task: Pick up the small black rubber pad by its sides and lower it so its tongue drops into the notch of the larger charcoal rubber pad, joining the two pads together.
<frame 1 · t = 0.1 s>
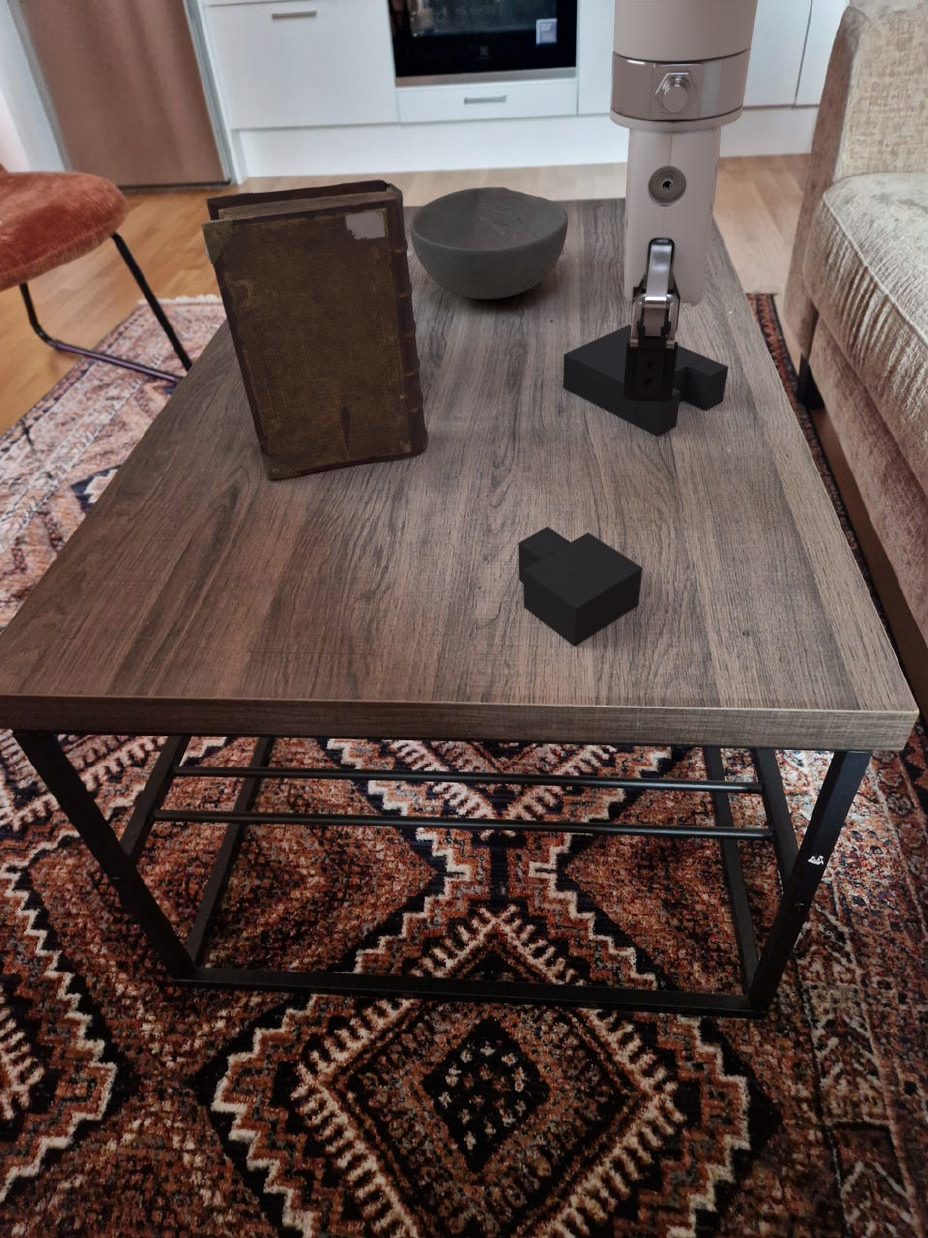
hand: (651, 364, 60), 18 cm above the table, tool pointing down, fingers open, 9 cm apart
book: (349, 457, 87), on the table
notch pad: (641, 394, 92), on the table
bowl: (491, 292, 114), on the table
flower pot: (324, 385, 98), on the table
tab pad: (580, 606, 68), on the table
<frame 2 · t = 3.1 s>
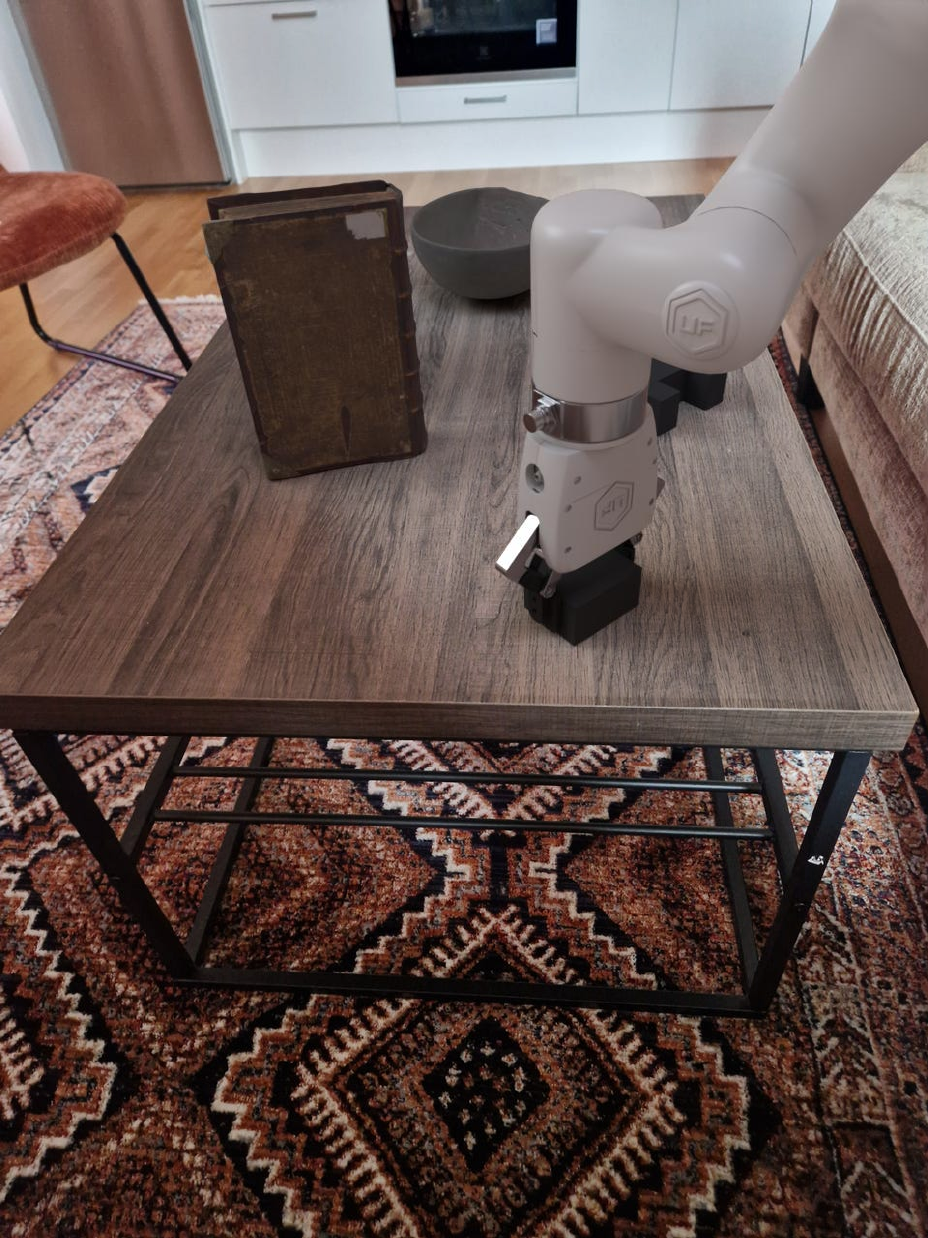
hand: (580, 598, 68), 1 cm above the table, tool pointing down, fingers closed on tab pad, 7 cm apart
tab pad: (580, 606, 68), on the table, touching gripper
everything else where it was.
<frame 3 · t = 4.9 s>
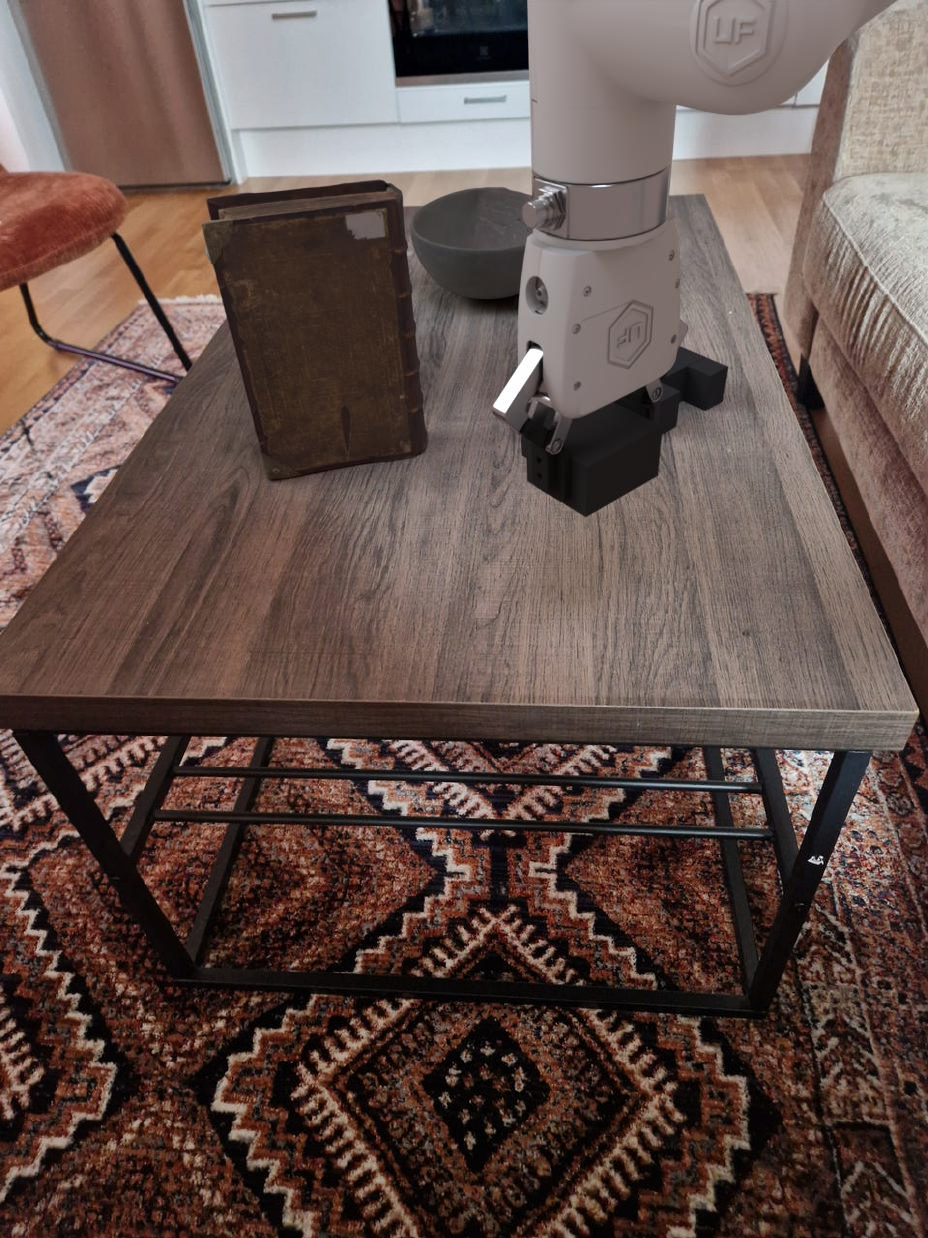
hand: (592, 468, 59), 13 cm above the table, tool pointing down, fingers closed on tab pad, 7 cm apart
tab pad: (592, 478, 60), point 12 cm above the table, touching gripper
everything else where it was.
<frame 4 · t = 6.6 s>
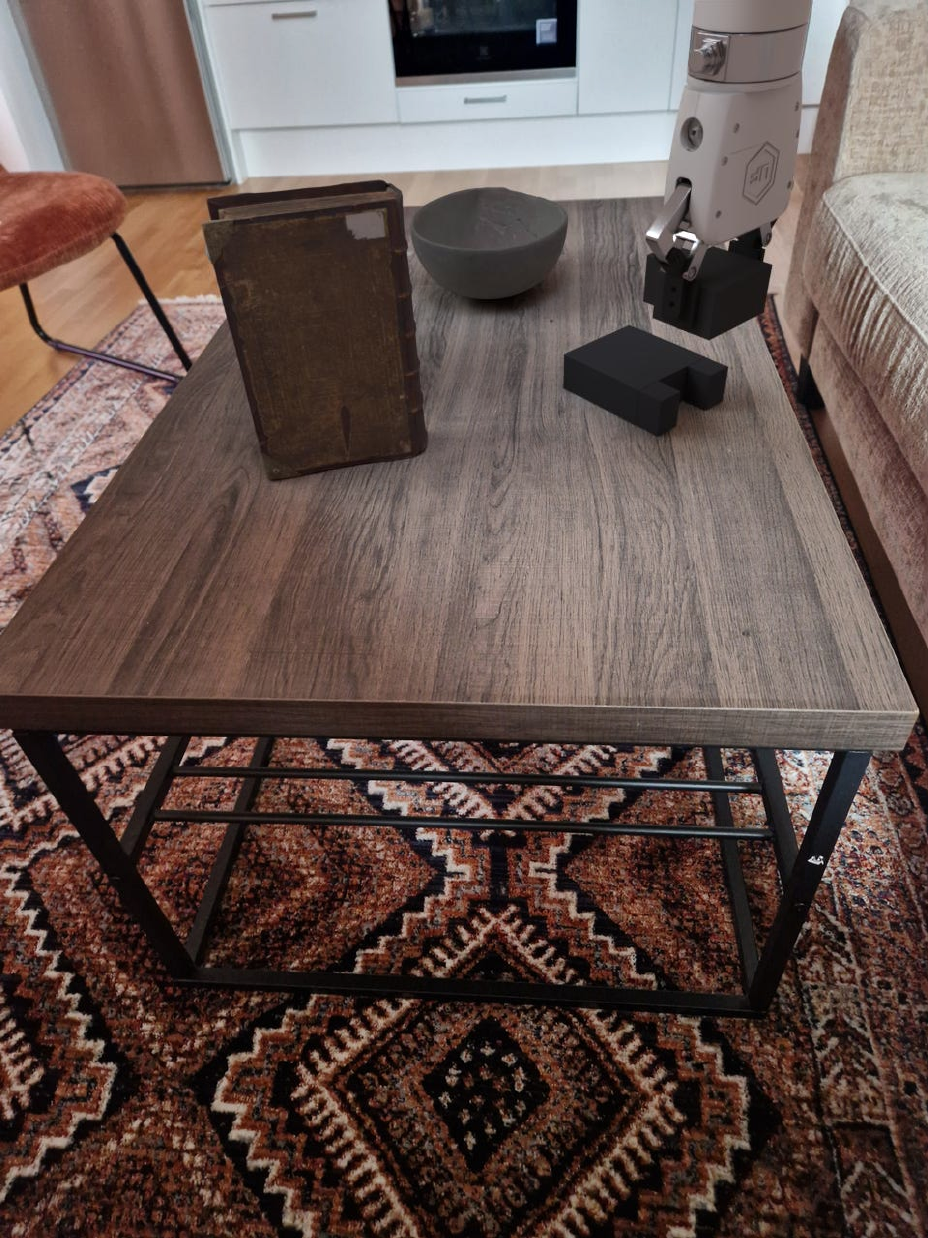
hand: (709, 305, 70), 16 cm above the table, tool pointing down, fingers closed on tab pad, 7 cm apart
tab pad: (707, 315, 71), point 15 cm above the table, touching gripper
everything else where it was.
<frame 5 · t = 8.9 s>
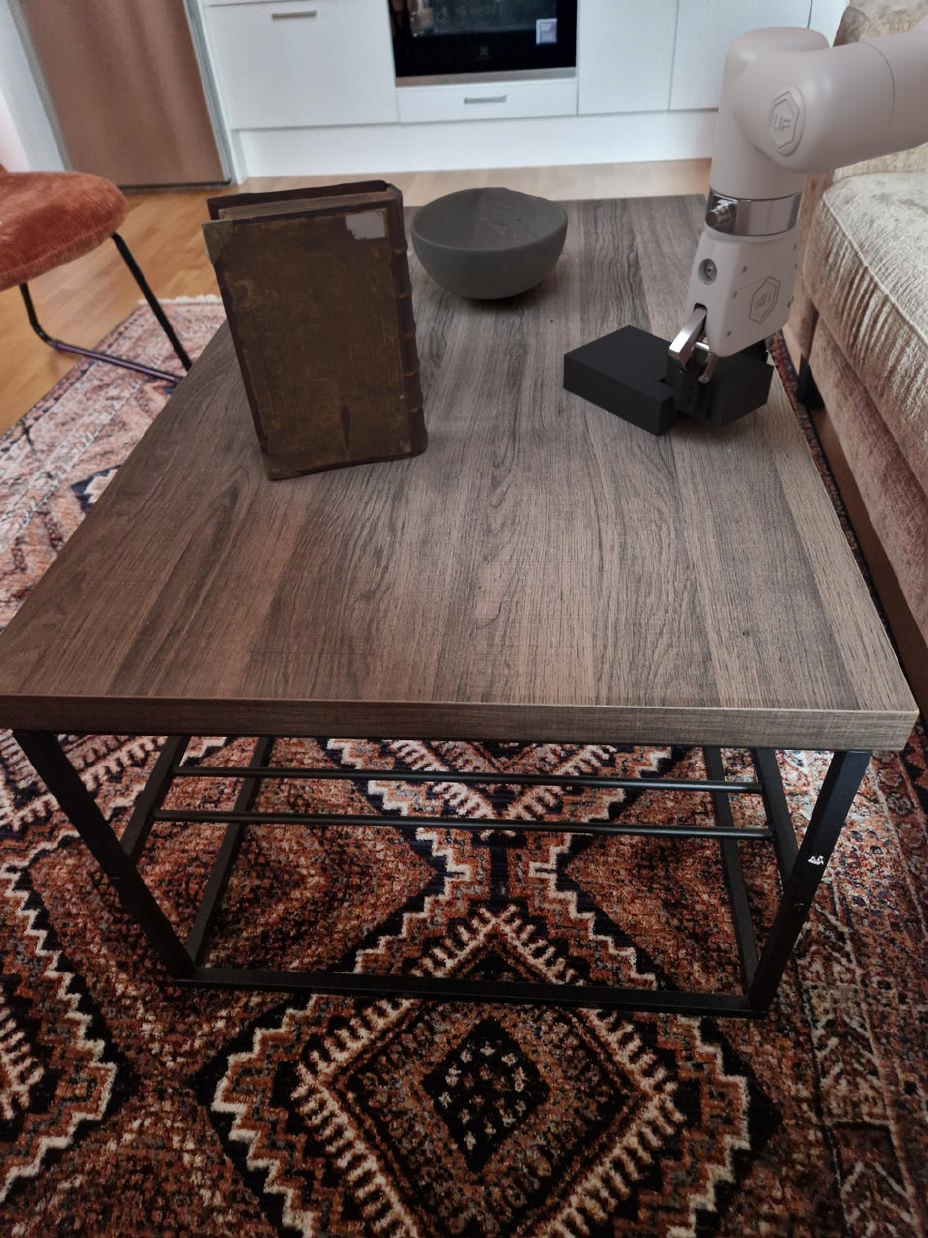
hand: (721, 397, 83), 4 cm above the table, tool pointing down, fingers closed on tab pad, 7 cm apart
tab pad: (719, 405, 84), point 3 cm above the table, touching gripper
everything else where it was.
when the fingers open (1 cm above the table, at t = 10.3 s): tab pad stays where it is, on the table.
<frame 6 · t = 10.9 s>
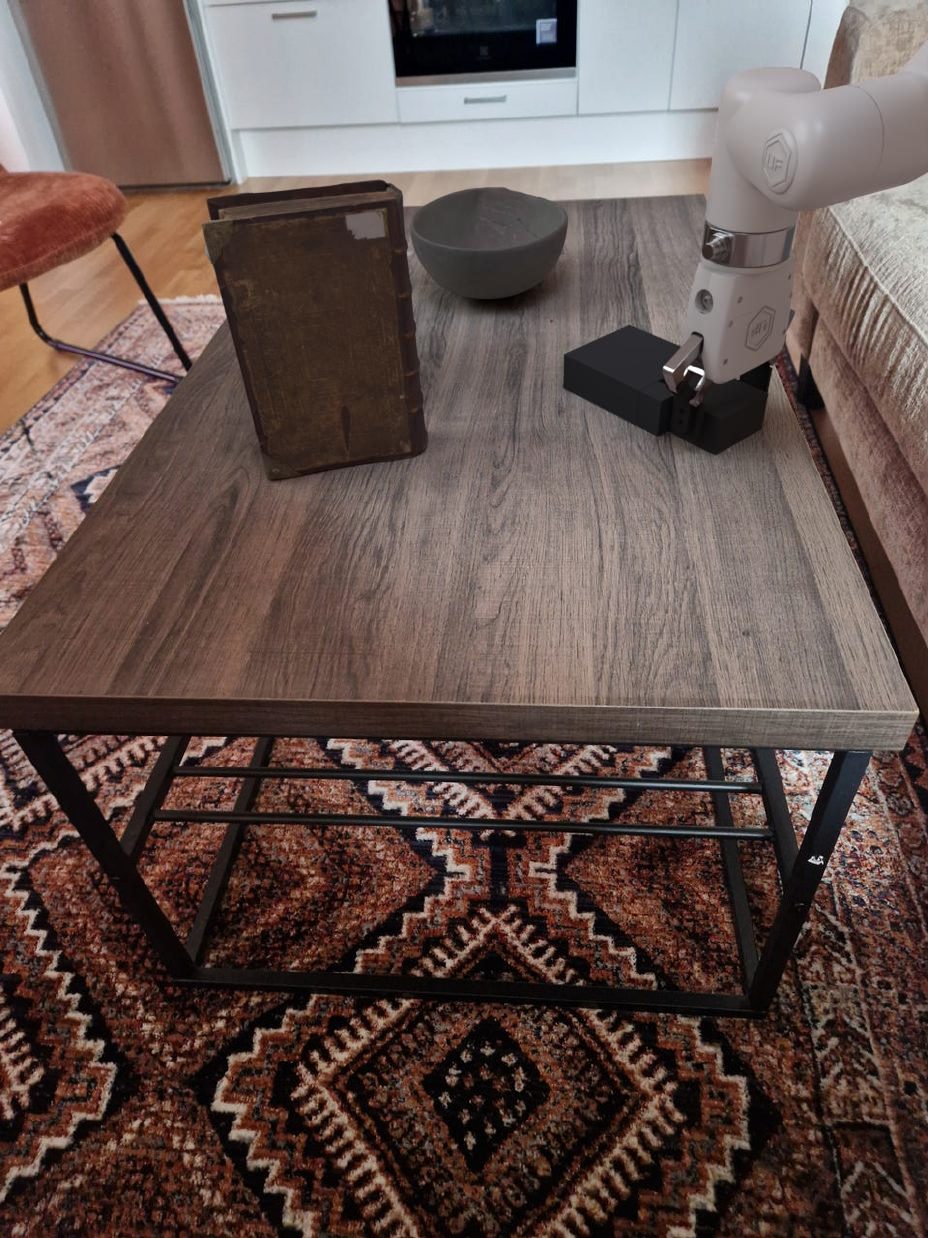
hand: (719, 416, 84), 2 cm above the table, tool pointing down, fingers open, 9 cm apart
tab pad: (715, 430, 86), on the table
everything else where it was.
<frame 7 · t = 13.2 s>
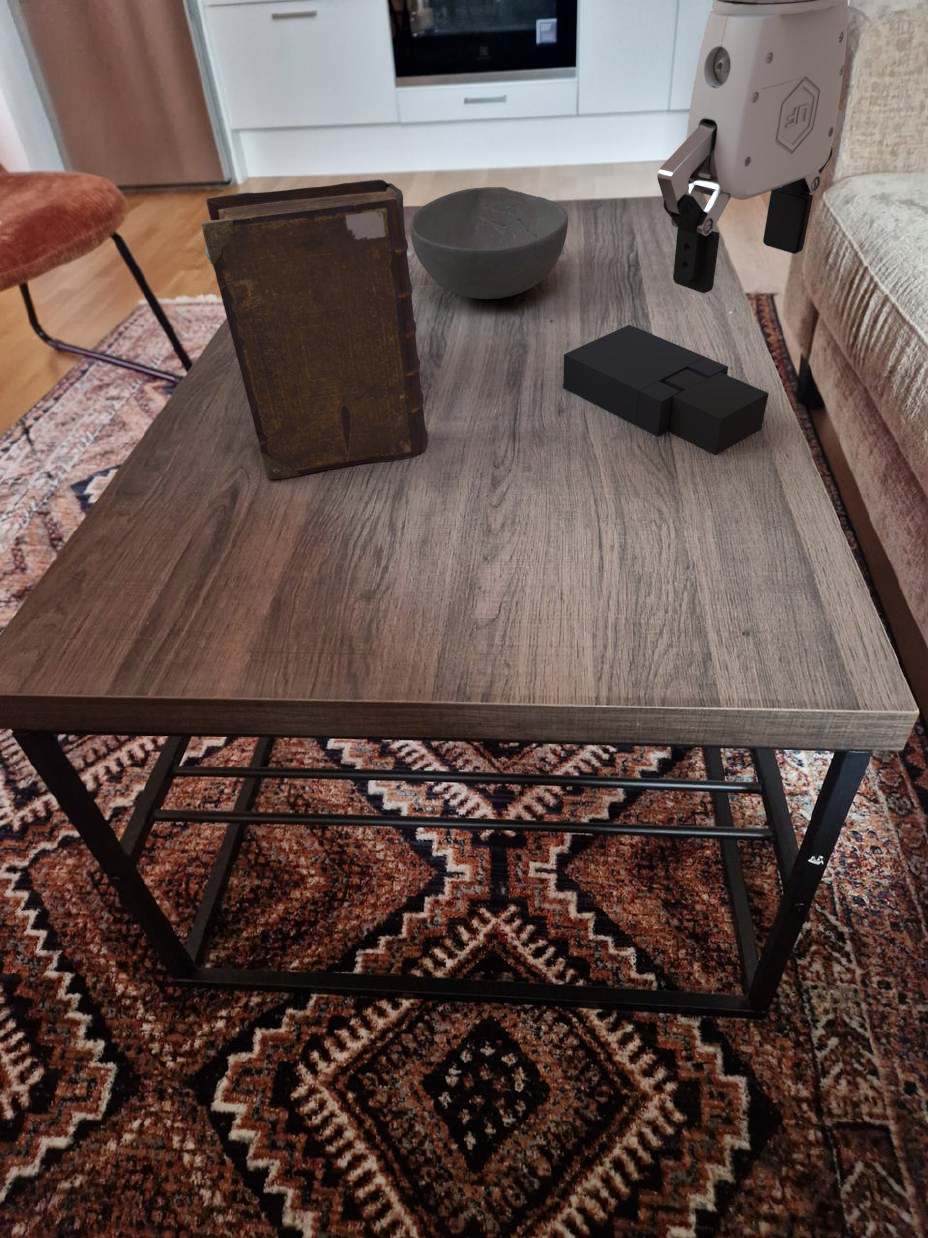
hand: (738, 267, 62), 22 cm above the table, tool pointing down, fingers open, 9 cm apart
nothing on the table moved.
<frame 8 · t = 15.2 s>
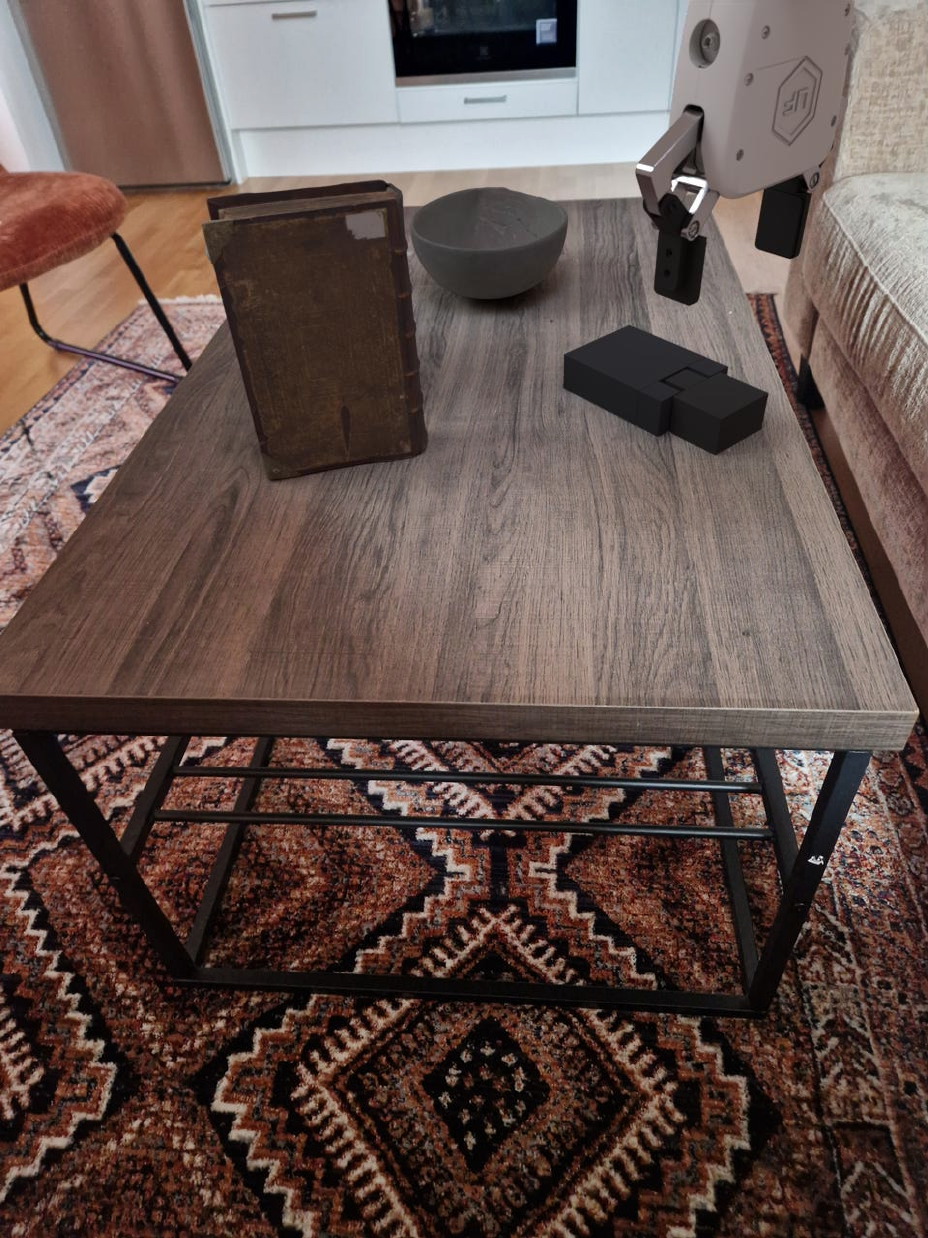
hand: (727, 274, 54), 24 cm above the table, tool pointing down, fingers open, 9 cm apart
nothing on the table moved.
at the end: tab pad 0.3 cm from the target spot on the table beside the notch pad, on the table; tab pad tilted 0°; the gripper is holding nothing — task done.
